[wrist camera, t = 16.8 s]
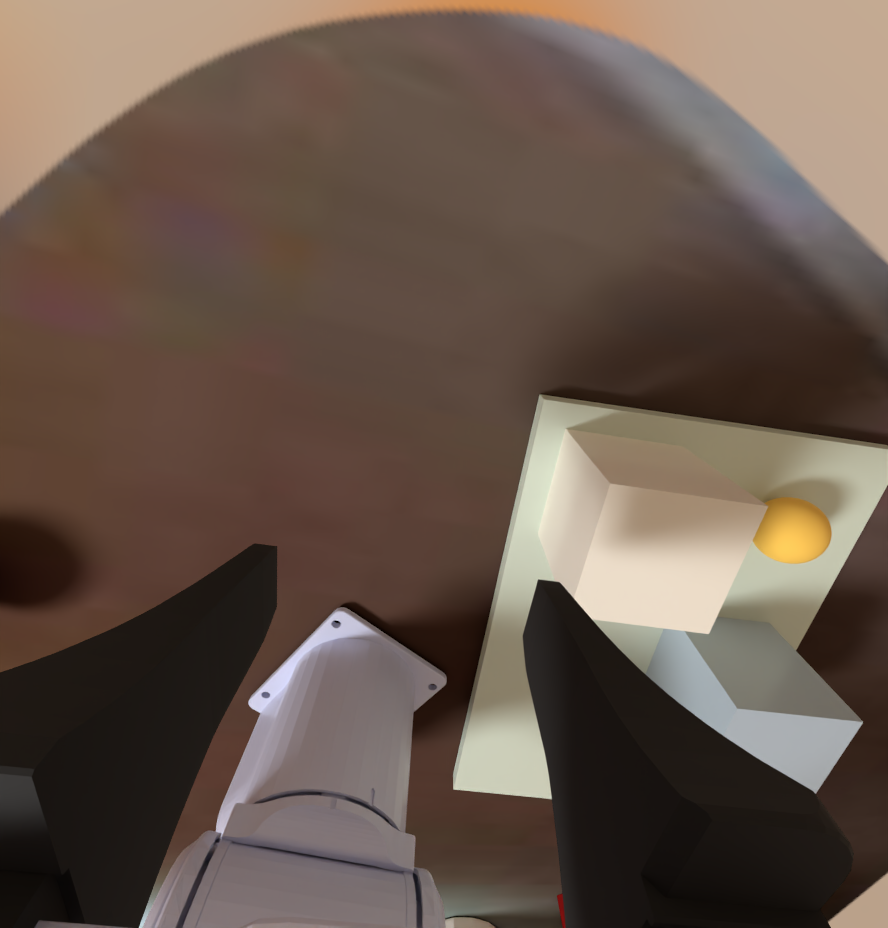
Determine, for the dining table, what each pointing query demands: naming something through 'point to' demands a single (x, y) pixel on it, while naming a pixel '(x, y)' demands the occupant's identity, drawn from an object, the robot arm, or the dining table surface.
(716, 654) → the matte grey-blue cube
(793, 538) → the orange ball
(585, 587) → the tan cuboid
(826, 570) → the sage board
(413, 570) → the dining table surface
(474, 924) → the white cup
